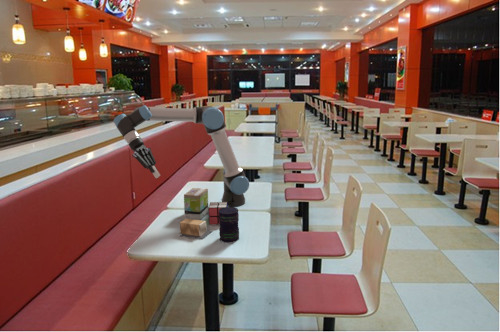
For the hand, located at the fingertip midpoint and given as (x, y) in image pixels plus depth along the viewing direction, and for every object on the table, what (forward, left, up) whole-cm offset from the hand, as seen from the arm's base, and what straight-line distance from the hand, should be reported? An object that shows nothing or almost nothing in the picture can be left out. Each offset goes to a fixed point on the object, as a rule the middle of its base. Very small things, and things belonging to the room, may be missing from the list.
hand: (158, 176), depth 212 cm
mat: (-8, +24, -27) cm, 37 cm away
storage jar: (-17, +41, -27) cm, 52 cm away
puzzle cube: (-26, +17, -28) cm, 42 cm away
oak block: (-4, +18, -24) cm, 30 cm away
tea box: (-22, 0, -27) cm, 36 cm away
